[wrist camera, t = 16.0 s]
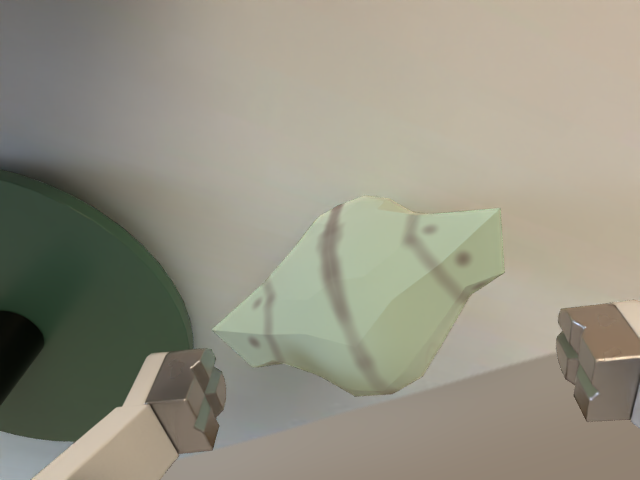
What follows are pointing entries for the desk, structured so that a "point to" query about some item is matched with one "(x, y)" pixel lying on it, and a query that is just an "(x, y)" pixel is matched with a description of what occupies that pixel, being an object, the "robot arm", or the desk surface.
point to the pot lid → (74, 312)
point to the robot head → (368, 294)
